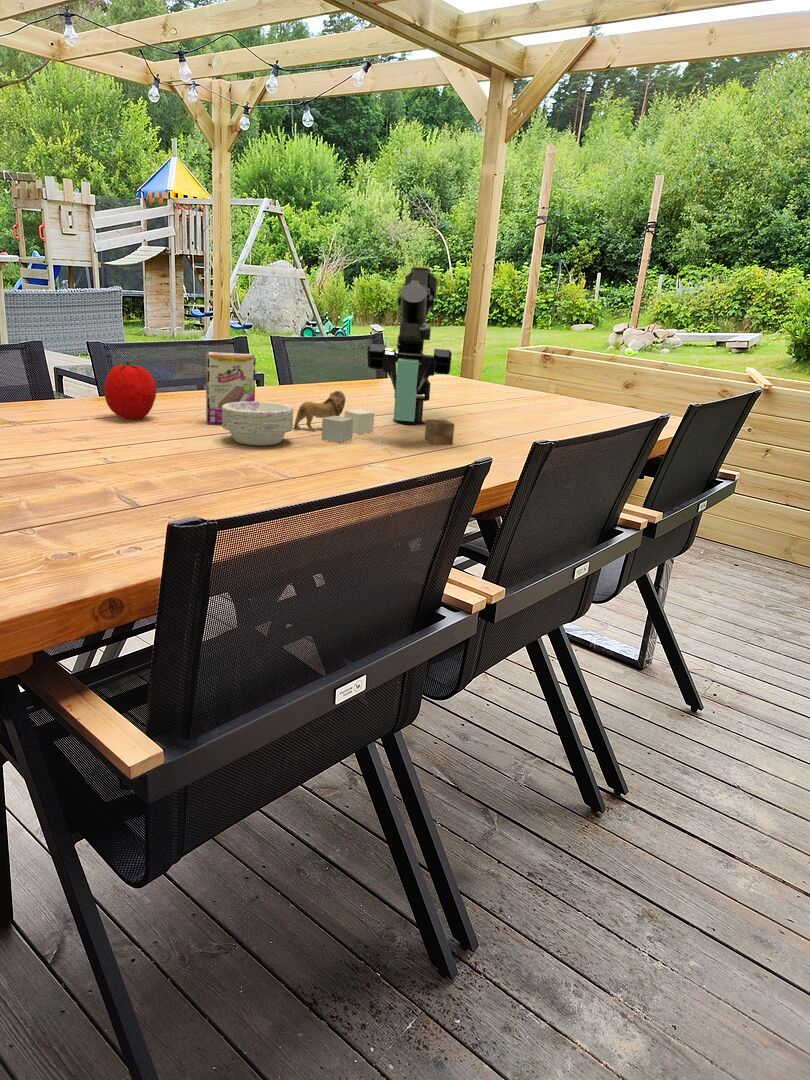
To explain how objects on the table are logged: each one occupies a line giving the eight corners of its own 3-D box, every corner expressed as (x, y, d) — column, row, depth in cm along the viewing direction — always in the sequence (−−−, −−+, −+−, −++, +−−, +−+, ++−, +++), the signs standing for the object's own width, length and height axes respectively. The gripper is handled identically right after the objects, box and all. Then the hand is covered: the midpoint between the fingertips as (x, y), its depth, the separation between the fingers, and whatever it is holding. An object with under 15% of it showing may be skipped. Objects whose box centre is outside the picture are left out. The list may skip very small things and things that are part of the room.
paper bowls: (250, 431, 178) (250, 397, 175) (305, 441, 172) (306, 406, 169) (207, 441, 165) (206, 404, 162) (265, 453, 159) (265, 415, 156)
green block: (394, 416, 175) (398, 358, 170) (414, 417, 175) (419, 359, 170) (393, 419, 171) (397, 360, 166) (413, 421, 170) (418, 362, 166)
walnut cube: (443, 440, 185) (445, 419, 183) (452, 444, 180) (454, 423, 179) (424, 440, 183) (426, 419, 181) (432, 445, 178) (434, 423, 177)
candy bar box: (207, 425, 181) (206, 354, 175) (206, 421, 185) (205, 351, 180) (255, 425, 184) (256, 355, 179) (252, 421, 189) (253, 353, 183)
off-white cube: (358, 429, 190) (359, 409, 188) (373, 433, 186) (374, 412, 185) (343, 431, 186) (344, 410, 184) (358, 435, 183) (359, 414, 181)
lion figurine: (336, 424, 193) (337, 388, 190) (349, 428, 189) (351, 392, 186) (287, 429, 183) (287, 391, 180) (299, 433, 179) (300, 395, 176)
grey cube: (333, 436, 179) (334, 415, 177) (351, 440, 177) (352, 418, 175) (321, 440, 175) (322, 418, 173) (340, 443, 173) (341, 421, 171)
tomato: (102, 423, 174) (98, 364, 170) (108, 413, 185) (105, 357, 181) (156, 424, 177) (153, 366, 173) (158, 414, 188) (157, 359, 184)
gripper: (370, 306, 169) (362, 362, 162) (455, 312, 168) (450, 369, 162) (371, 339, 179) (364, 394, 172) (451, 346, 178) (447, 401, 172)
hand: (406, 389), depth 169 cm, fingers closed on green block, 4 cm apart
